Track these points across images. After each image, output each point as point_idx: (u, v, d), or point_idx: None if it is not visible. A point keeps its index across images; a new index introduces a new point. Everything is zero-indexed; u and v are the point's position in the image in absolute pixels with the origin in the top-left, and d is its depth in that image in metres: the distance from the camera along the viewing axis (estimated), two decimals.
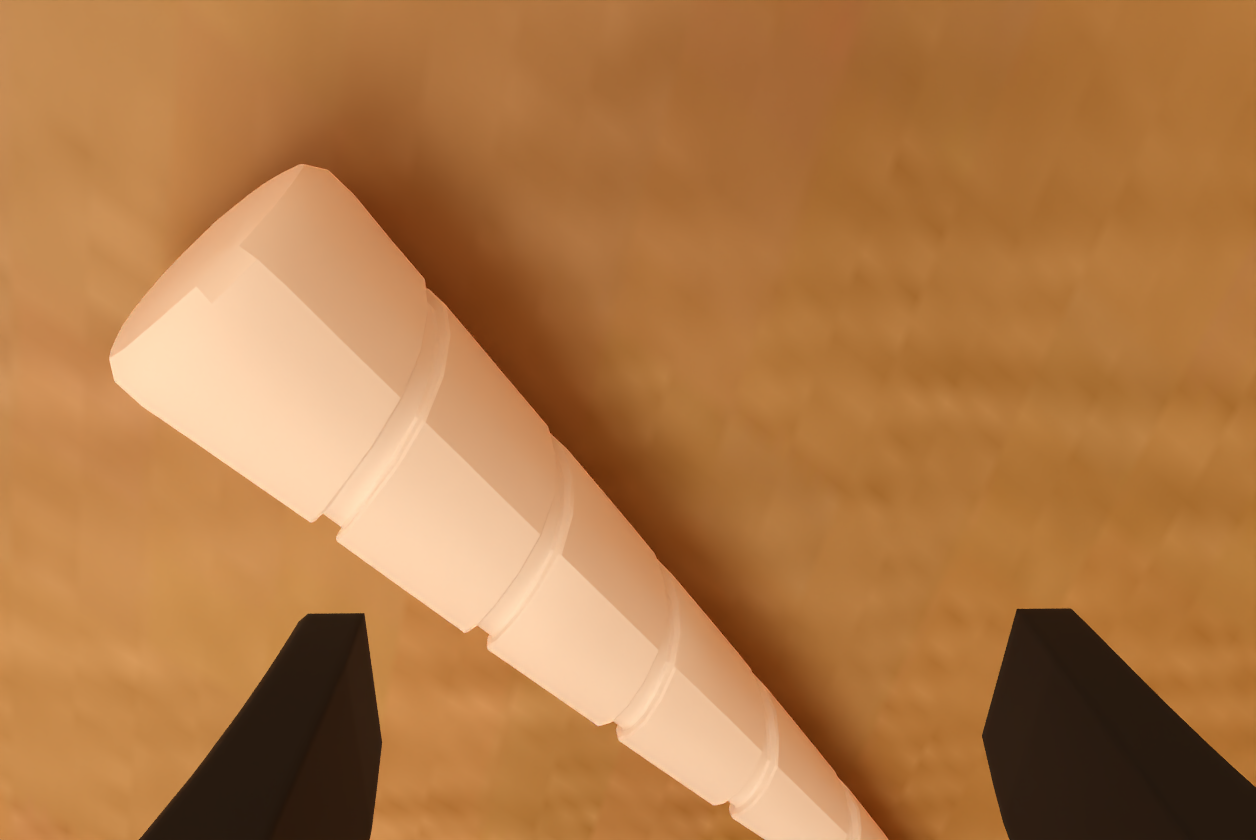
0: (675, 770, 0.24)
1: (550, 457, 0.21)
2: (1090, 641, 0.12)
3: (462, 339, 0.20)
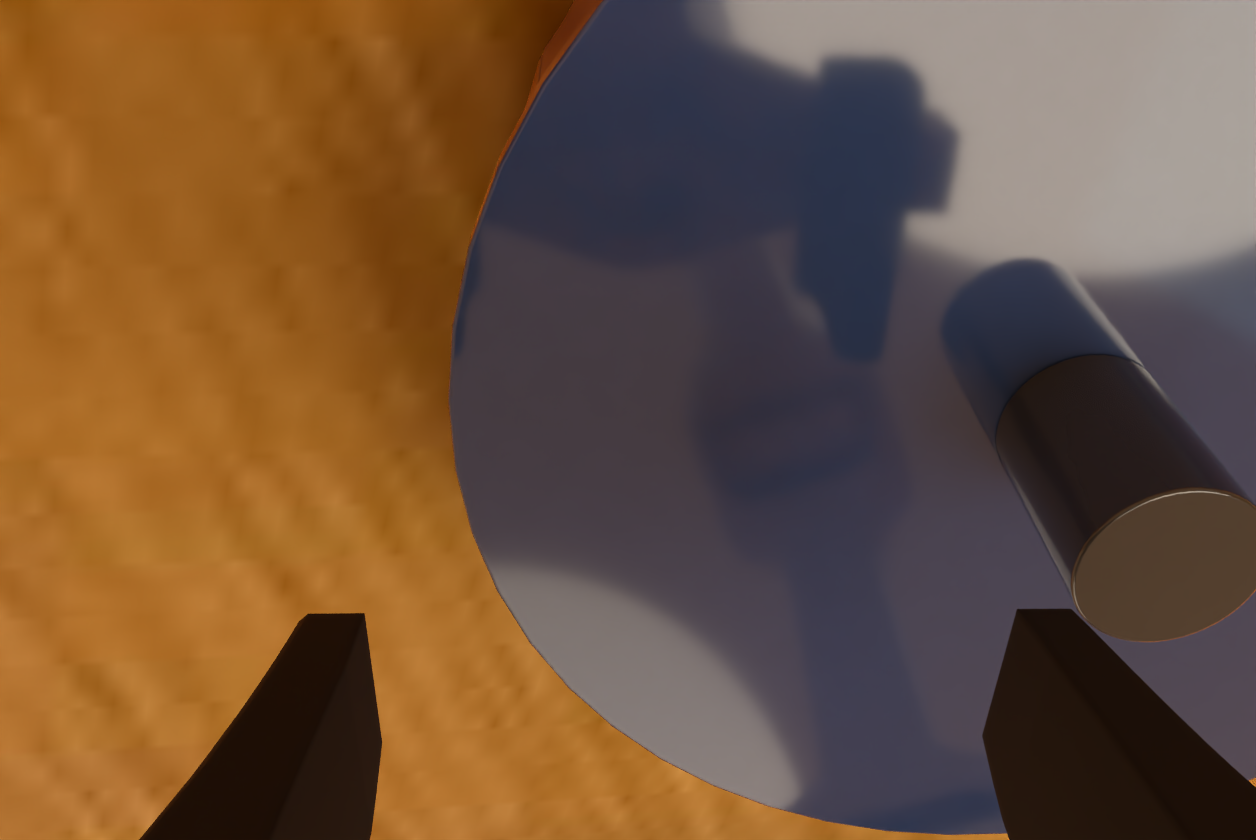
0: None
1: None
2: (1090, 641, 0.12)
3: None
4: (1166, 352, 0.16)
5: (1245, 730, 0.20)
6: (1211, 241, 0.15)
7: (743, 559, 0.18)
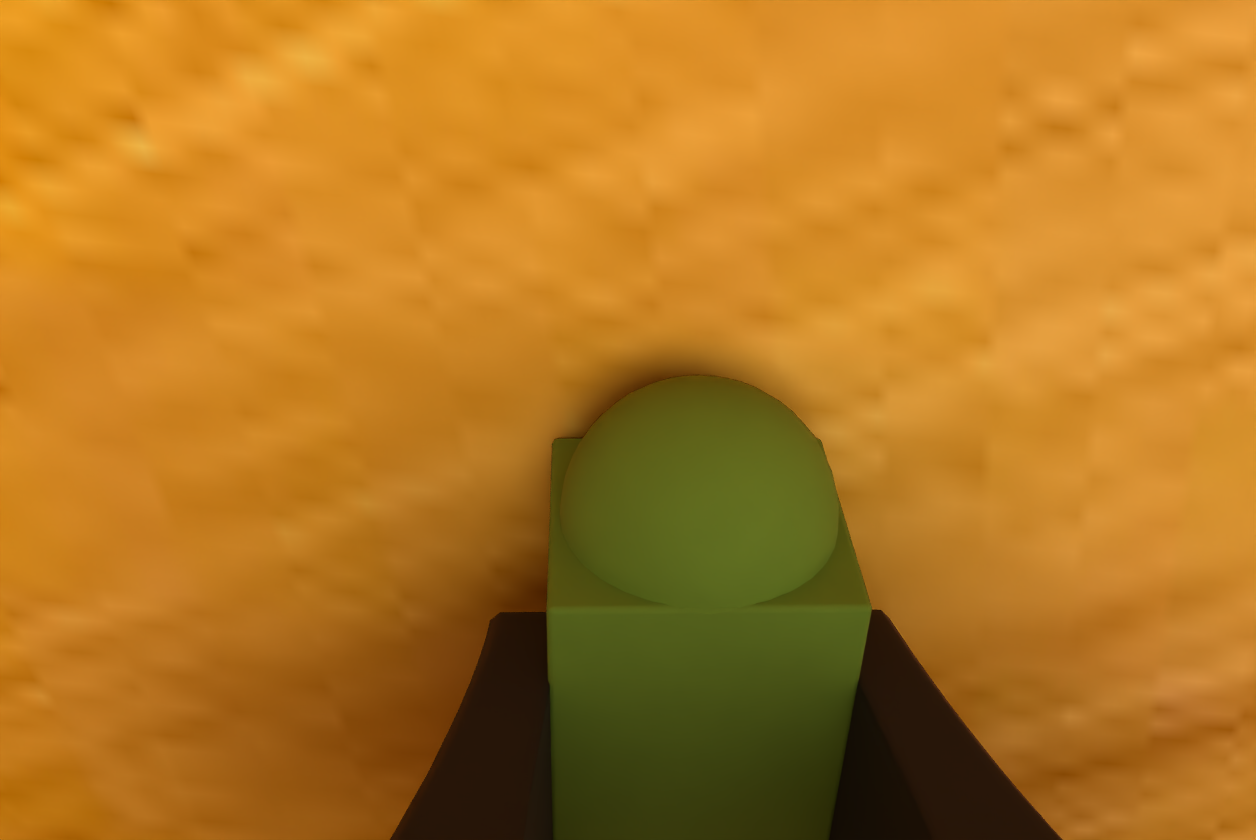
0: None
1: None
2: (889, 642, 0.12)
3: None
4: None
5: None
6: None
7: None
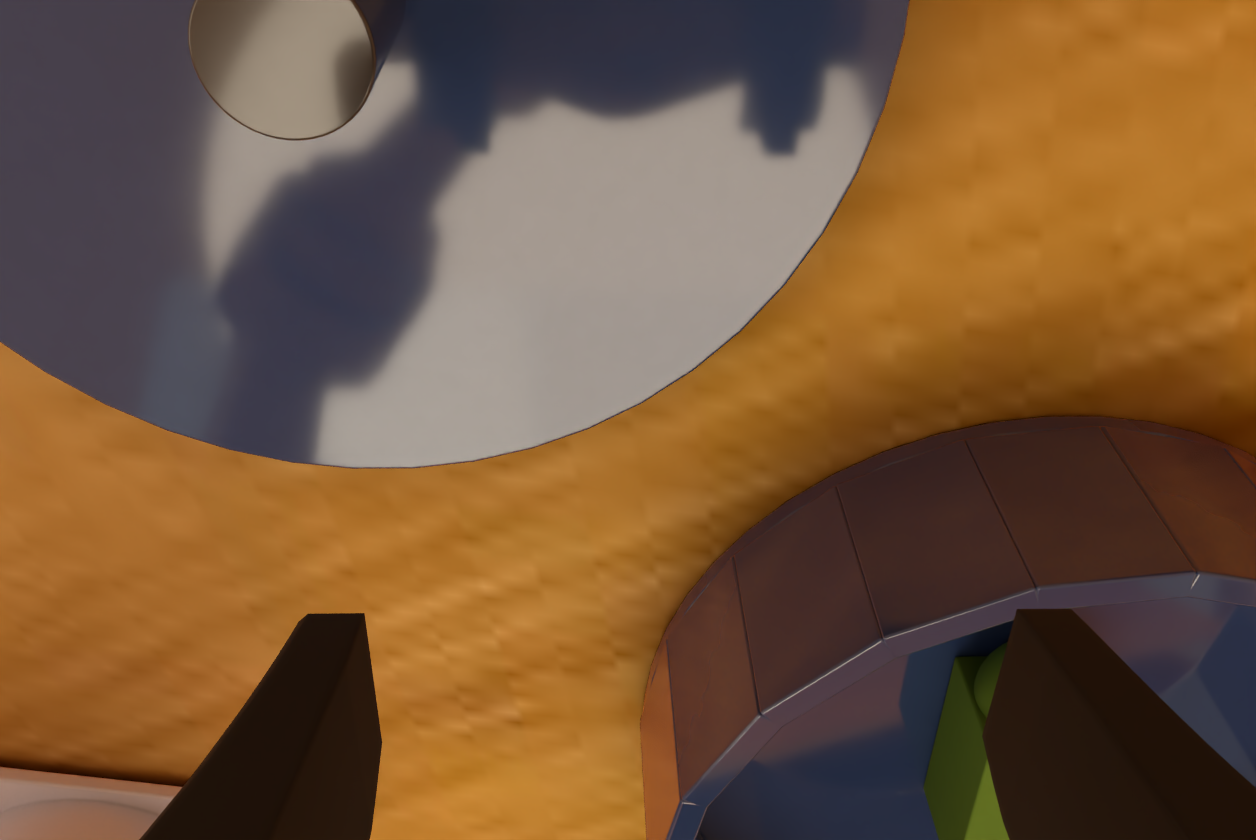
0: None
1: None
2: (1090, 641, 0.12)
3: None
4: (417, 46, 0.18)
5: (27, 285, 0.20)
6: (524, 44, 0.18)
7: None
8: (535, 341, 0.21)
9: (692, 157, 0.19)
